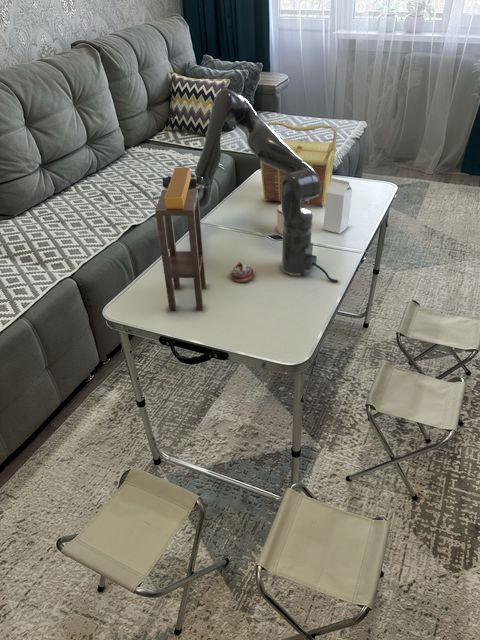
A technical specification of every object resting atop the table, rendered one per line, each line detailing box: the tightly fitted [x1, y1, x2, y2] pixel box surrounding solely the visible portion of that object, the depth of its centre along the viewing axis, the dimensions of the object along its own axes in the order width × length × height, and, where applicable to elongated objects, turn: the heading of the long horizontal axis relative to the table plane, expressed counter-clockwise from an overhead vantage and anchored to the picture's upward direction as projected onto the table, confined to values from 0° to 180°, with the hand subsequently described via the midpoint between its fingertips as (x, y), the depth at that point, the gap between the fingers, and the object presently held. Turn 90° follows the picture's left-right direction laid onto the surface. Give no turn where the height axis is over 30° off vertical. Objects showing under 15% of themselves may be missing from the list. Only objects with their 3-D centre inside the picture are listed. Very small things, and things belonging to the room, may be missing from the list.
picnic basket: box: [259, 121, 338, 207], centre depth 210 cm, size 29×26×30 cm
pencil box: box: [165, 167, 192, 209], centre depth 141 cm, size 22×4×3 cm, turn 1°
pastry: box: [230, 261, 255, 283], centre depth 167 cm, size 8×8×5 cm
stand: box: [154, 189, 207, 312], centre depth 149 cm, size 14×10×32 cm
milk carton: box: [322, 177, 353, 234], centre depth 190 cm, size 7×7×19 cm
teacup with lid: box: [276, 204, 283, 235], centre depth 192 cm, size 12×9×12 cm
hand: (183, 179), depth 151 cm, fingers open, 8 cm apart
